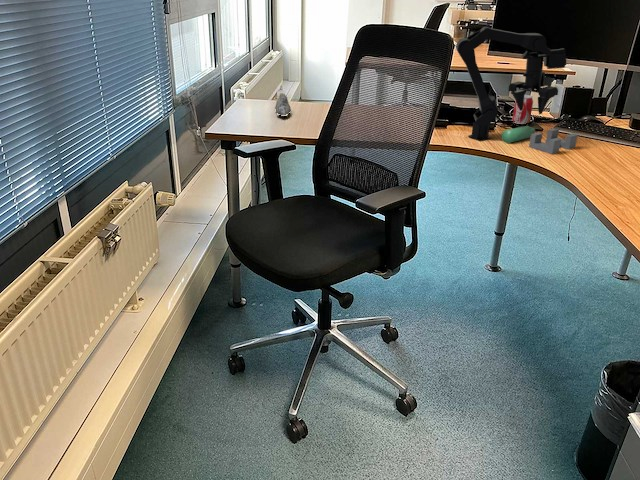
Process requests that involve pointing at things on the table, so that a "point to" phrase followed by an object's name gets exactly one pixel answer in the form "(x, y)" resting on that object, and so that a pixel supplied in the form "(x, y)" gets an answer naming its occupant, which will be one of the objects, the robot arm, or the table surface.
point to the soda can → (523, 111)
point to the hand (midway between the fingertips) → (530, 111)
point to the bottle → (517, 134)
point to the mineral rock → (282, 105)
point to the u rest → (552, 141)
